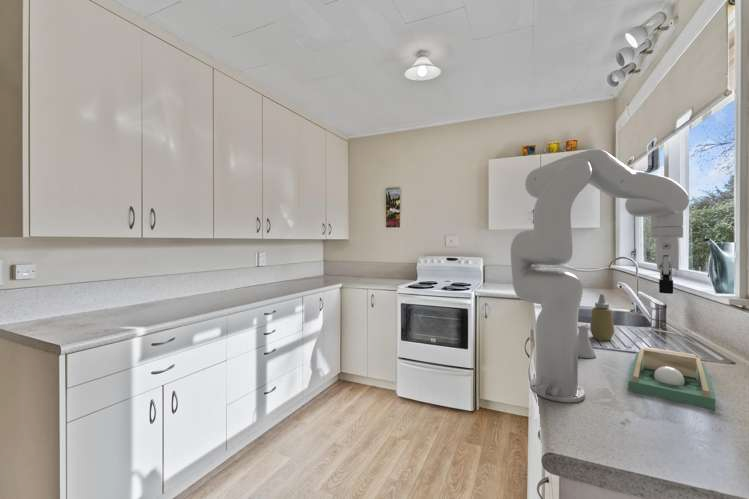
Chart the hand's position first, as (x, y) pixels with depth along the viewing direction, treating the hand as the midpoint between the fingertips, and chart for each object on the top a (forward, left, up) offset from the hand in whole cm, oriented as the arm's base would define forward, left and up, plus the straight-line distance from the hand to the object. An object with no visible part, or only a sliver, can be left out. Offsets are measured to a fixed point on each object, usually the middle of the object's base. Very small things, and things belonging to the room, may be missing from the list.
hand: (666, 292), depth 102 cm
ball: (-20, -1, -20) cm, 28 cm away
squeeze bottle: (+24, +19, -23) cm, 39 cm away
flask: (-3, +21, -23) cm, 32 cm away
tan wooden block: (-12, -1, -20) cm, 24 cm away
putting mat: (-12, -1, -23) cm, 26 cm away
